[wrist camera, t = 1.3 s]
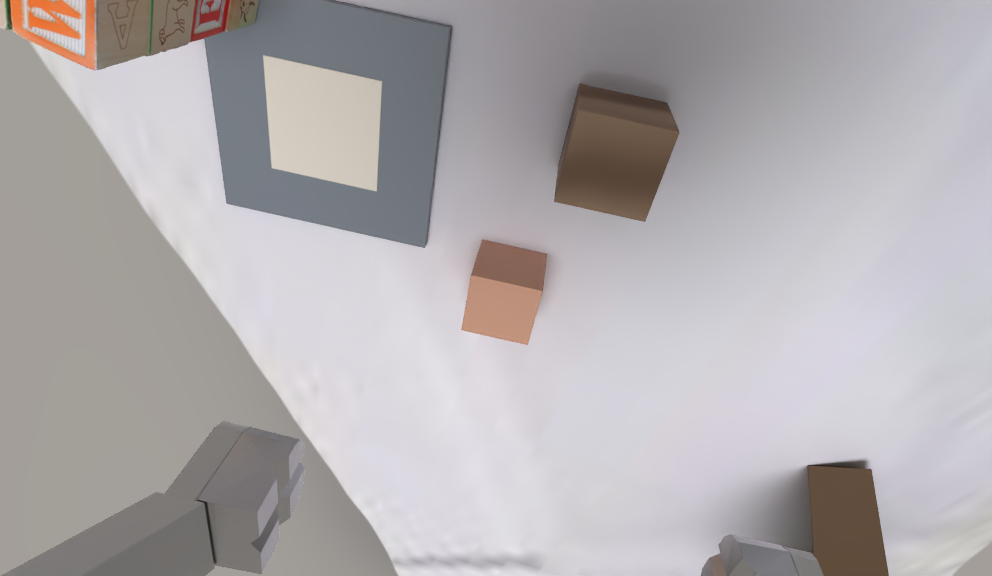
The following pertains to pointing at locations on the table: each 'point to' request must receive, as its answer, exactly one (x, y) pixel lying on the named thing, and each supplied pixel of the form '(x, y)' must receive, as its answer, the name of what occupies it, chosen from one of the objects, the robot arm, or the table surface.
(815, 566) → the robot arm
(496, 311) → the terracotta block
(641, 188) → the walnut block
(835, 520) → the photo frame
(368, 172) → the grey flat square plate
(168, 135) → the table surface
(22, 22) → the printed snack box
